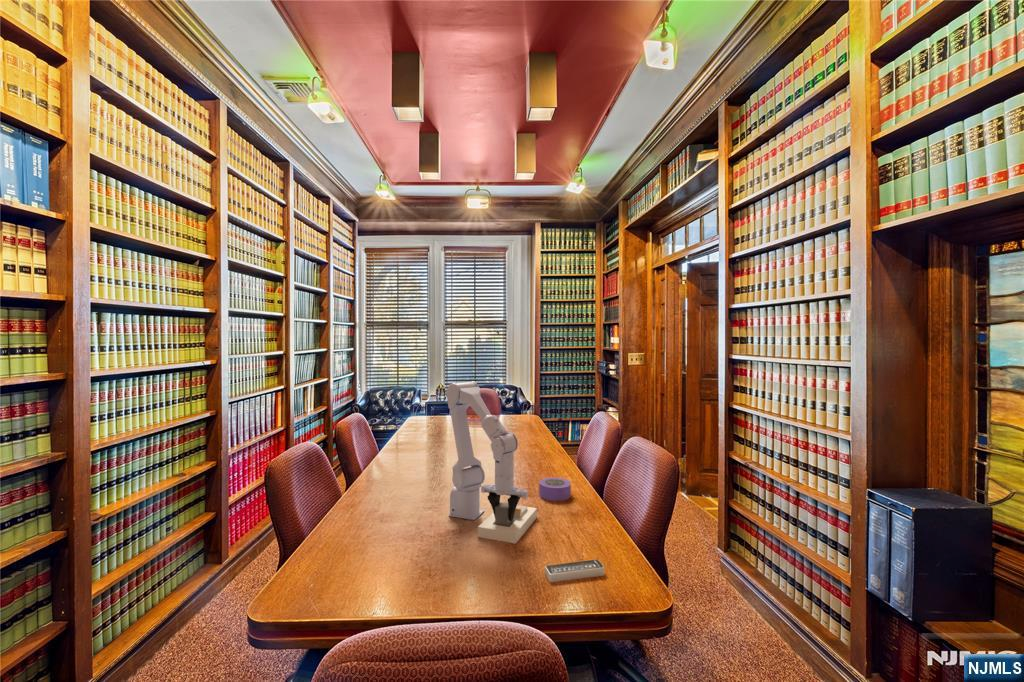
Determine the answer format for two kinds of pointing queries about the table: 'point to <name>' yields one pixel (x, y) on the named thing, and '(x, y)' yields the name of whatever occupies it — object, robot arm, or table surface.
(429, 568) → the table surface
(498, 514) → the plug
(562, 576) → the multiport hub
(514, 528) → the socket plate
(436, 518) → the table surface
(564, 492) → the tape roll
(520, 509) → the shutter
